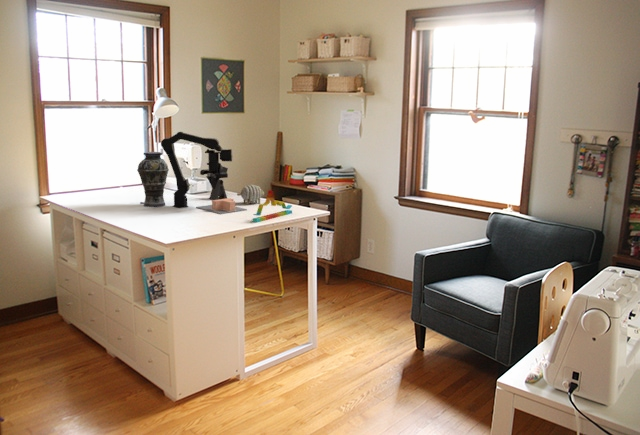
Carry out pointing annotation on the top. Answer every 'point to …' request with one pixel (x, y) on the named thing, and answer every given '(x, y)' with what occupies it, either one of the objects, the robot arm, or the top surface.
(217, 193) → the phone stand
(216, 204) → the t block
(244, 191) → the toy sheep
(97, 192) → the top surface
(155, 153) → the vase
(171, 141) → the robot arm
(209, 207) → the mat
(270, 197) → the multicoloured triangular frame
